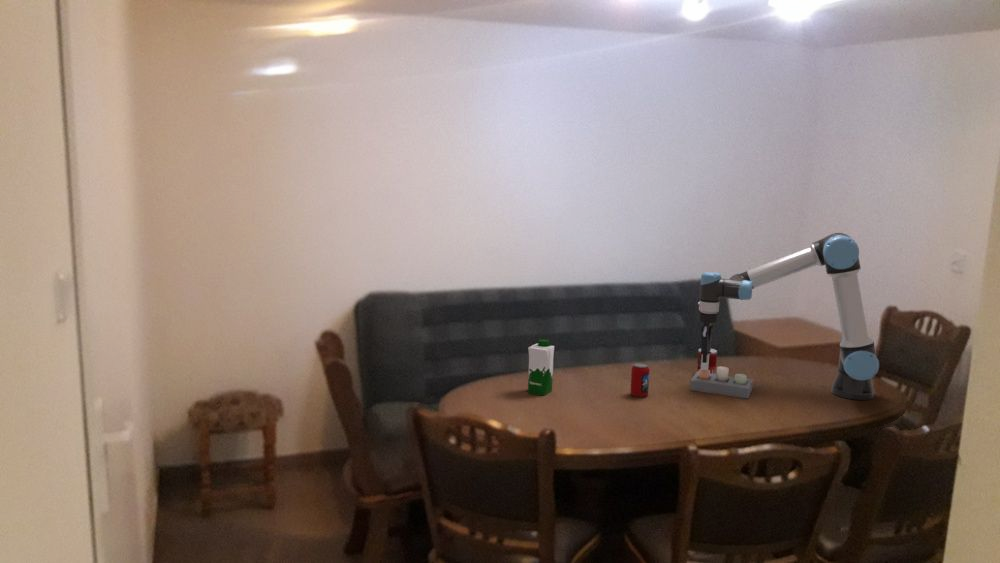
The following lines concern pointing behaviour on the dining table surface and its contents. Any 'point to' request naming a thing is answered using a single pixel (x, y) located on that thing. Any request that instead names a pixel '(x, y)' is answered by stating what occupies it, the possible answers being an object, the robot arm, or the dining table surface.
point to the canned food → (711, 361)
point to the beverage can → (640, 380)
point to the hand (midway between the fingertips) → (704, 369)
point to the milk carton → (540, 368)
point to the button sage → (740, 379)
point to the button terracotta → (704, 374)
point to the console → (721, 386)
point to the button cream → (722, 374)
